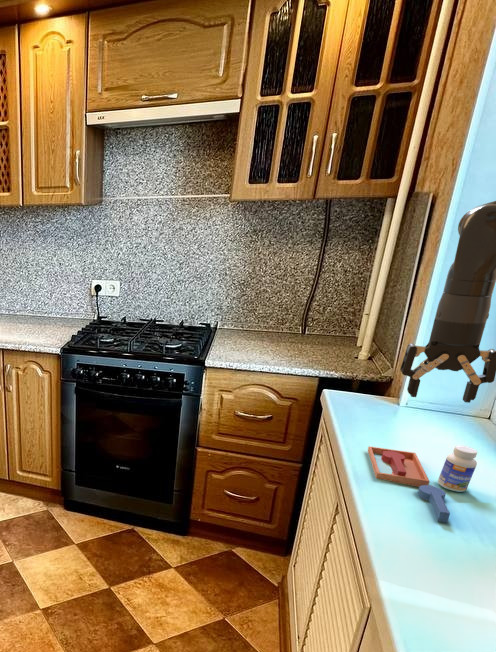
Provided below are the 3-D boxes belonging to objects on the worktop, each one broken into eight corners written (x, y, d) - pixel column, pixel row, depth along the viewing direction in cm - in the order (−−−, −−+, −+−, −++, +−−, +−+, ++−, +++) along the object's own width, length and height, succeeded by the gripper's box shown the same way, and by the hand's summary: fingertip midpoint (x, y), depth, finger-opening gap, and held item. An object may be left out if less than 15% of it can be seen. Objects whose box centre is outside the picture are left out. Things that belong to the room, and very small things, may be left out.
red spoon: (379, 455, 137) (381, 447, 136) (401, 458, 135) (403, 450, 134) (388, 478, 126) (390, 469, 125) (412, 482, 124) (414, 473, 123)
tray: (367, 453, 140) (368, 446, 139) (413, 459, 135) (415, 452, 135) (375, 480, 126) (377, 472, 125) (427, 488, 122) (429, 481, 121)
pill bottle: (444, 490, 121) (458, 453, 117) (432, 478, 125) (446, 442, 122) (471, 494, 119) (486, 456, 116) (459, 481, 124) (473, 445, 121)
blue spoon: (415, 490, 121) (417, 481, 121) (440, 494, 119) (443, 485, 119) (428, 519, 110) (431, 510, 109) (456, 525, 108) (459, 515, 107)
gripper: (502, 316, 99) (478, 397, 104) (410, 311, 105) (392, 388, 110) (517, 324, 92) (490, 410, 98) (418, 319, 98) (398, 400, 104)
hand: (438, 398), depth 104 cm, fingers open, 8 cm apart
